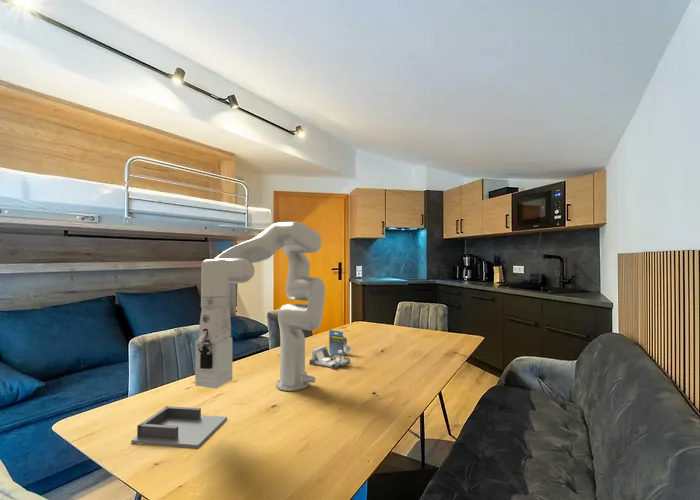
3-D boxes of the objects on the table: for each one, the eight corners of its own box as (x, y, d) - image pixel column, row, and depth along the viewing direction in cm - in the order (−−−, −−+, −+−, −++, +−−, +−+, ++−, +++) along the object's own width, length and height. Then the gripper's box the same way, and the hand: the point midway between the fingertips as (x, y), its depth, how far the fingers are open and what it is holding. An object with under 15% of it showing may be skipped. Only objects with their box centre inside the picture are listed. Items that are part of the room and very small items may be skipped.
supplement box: (233, 380, 101) (233, 336, 101) (215, 389, 94) (216, 342, 94) (212, 377, 103) (213, 334, 103) (194, 386, 96) (194, 340, 96)
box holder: (226, 419, 106) (227, 407, 106) (197, 448, 90) (198, 433, 90) (169, 415, 108) (169, 403, 108) (131, 443, 92) (131, 428, 93)
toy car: (355, 344, 161) (341, 349, 151) (355, 365, 161) (341, 372, 151) (323, 339, 171) (309, 344, 161) (323, 359, 170) (309, 365, 160)
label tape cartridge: (347, 354, 177) (347, 330, 177) (343, 356, 174) (343, 331, 174) (333, 351, 182) (333, 328, 182) (328, 353, 179) (328, 329, 179)
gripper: (211, 306, 90) (211, 374, 90) (240, 298, 107) (240, 355, 107) (184, 306, 91) (183, 373, 90) (217, 298, 108) (217, 354, 108)
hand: (214, 363), depth 99 cm, fingers closed on supplement box, 8 cm apart
